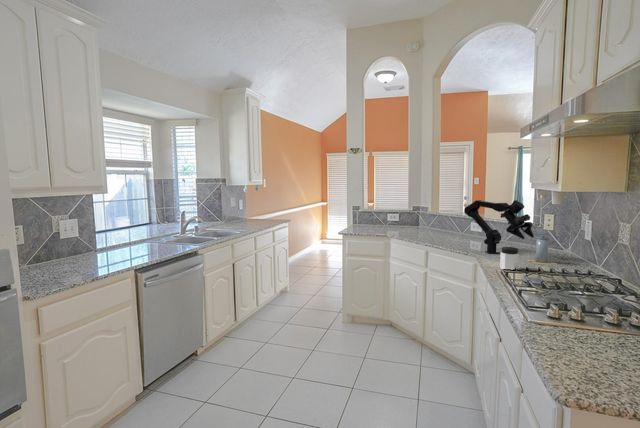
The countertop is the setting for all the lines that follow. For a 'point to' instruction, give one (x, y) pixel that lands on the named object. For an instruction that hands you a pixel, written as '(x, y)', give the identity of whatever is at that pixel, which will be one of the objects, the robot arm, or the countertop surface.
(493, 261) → the countertop surface
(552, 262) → the coaster
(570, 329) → the countertop surface
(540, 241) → the canister
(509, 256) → the jar
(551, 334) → the countertop surface
